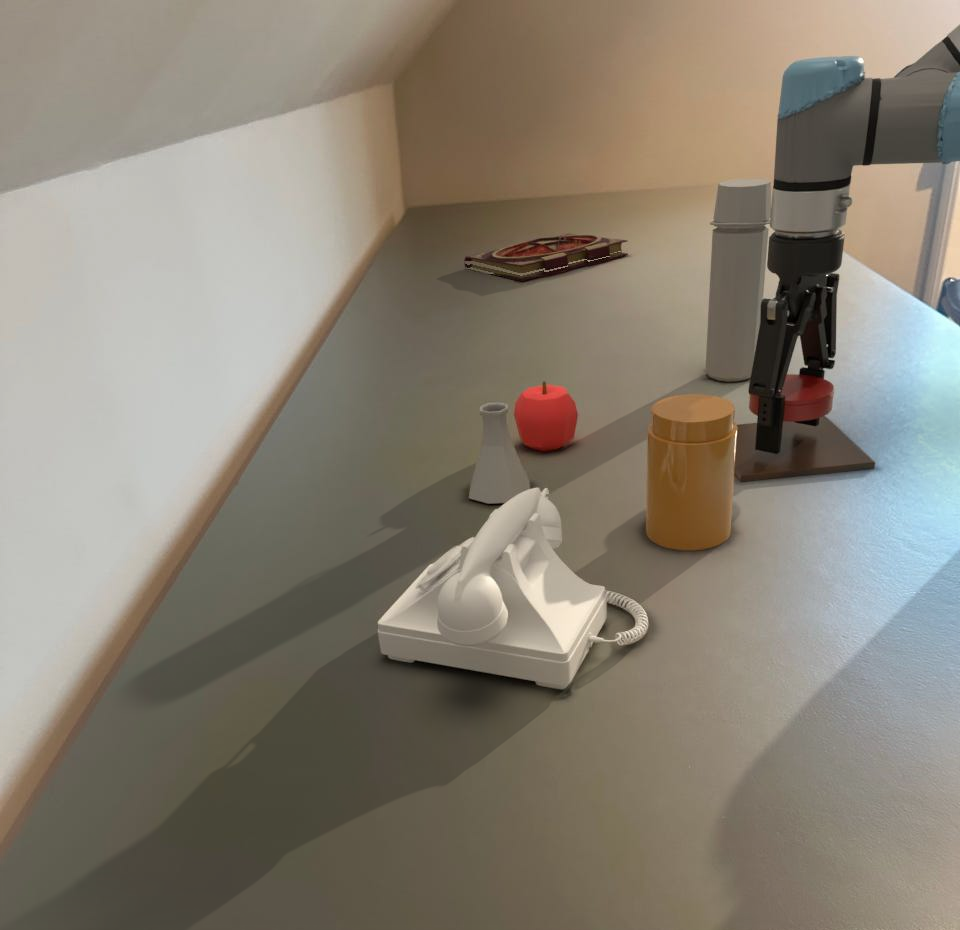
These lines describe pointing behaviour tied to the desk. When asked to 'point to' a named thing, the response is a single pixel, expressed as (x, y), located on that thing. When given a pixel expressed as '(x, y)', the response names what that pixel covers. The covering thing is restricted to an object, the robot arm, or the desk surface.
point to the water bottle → (737, 277)
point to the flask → (497, 460)
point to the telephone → (505, 603)
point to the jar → (690, 471)
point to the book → (549, 255)
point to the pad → (799, 452)
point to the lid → (802, 398)
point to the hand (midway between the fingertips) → (787, 436)
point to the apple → (545, 417)
